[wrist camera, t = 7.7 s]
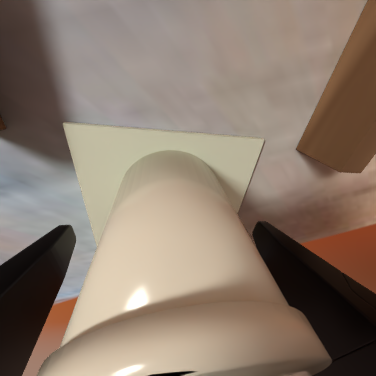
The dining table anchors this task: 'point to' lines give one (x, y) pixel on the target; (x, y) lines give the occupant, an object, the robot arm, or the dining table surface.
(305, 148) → the cradle
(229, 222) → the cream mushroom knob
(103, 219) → the pad
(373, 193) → the dining table surface
